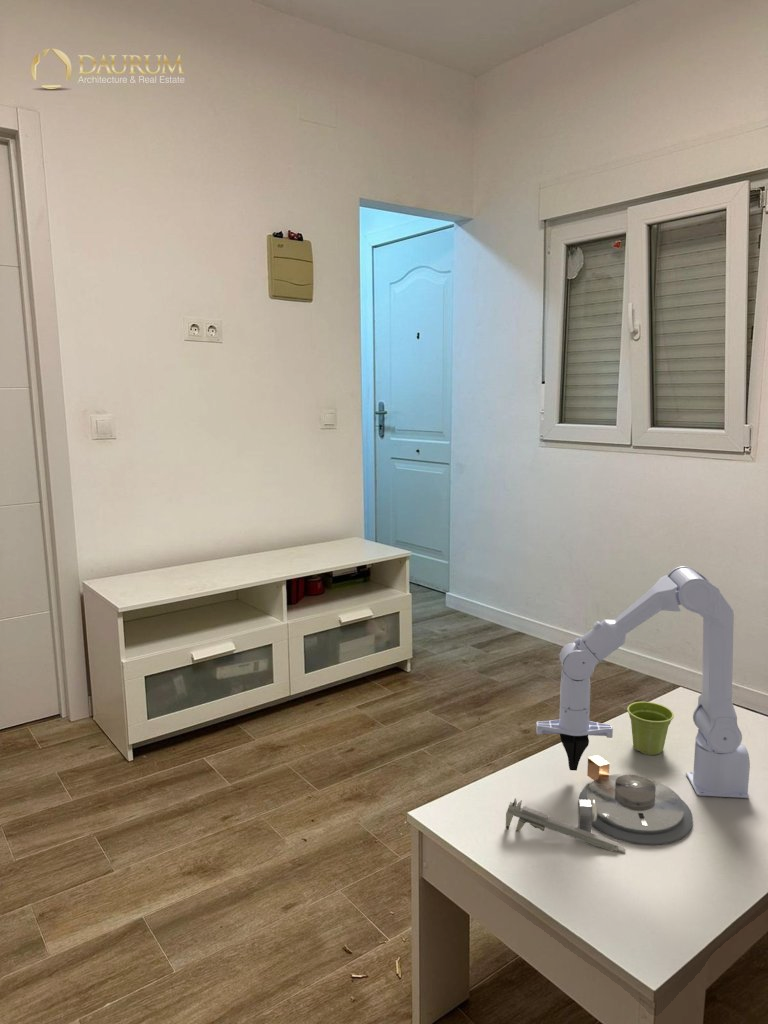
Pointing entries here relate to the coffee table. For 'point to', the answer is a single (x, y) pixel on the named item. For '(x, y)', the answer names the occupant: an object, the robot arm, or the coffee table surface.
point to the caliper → (556, 826)
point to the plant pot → (649, 726)
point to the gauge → (587, 814)
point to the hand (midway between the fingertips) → (572, 767)
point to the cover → (635, 792)
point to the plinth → (644, 838)
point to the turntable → (650, 821)
